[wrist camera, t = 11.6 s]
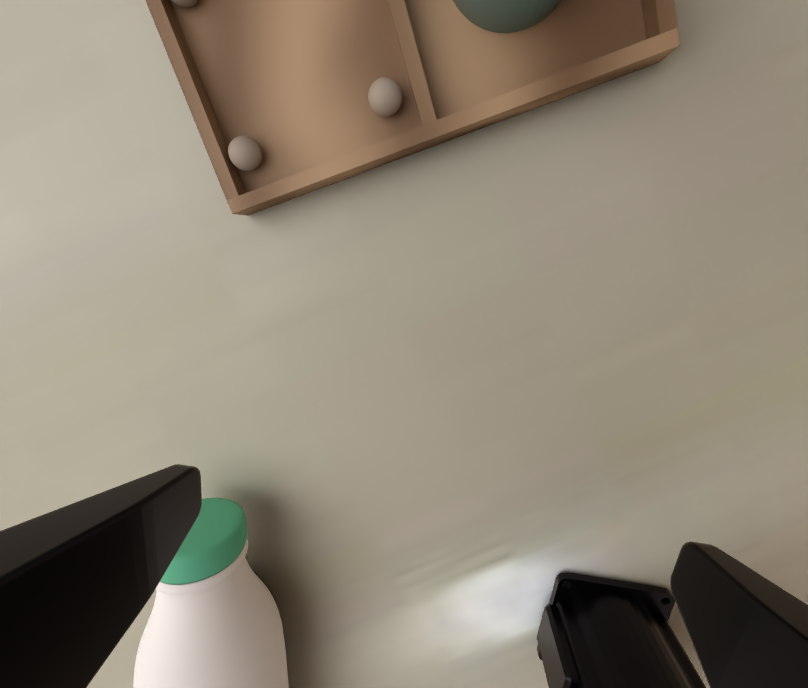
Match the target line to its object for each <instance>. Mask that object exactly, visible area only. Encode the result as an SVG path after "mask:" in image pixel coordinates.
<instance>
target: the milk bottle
mask: <svg viewBox="0 0 808 688" xmlns="http://www.w3.org/2000/svg"><path fill="white" fill-rule="evenodd" d="M247 551H248V539H247V524H246V517H245V514H244V511H243V509H242V508H241V506H240V505H239V504H237V503H236V502H234V501H232V500H229V499H224V498H206V499H202V505H201V510H200V513H199V516H198V518H197V519H196V521H195V523H194V524H193V526H192V528H191V530H190V531H189V533H188V535H187V536H186V538H185V540H184V541H183V543H182V545H181V547H180V548H179V550H178V552H177V553H176V555H175V557H174V558H173V560H172V562H171V564H170V565H169V567H168V569H167V570H166V572H165V574H164V575H163V577H162V579H161V581H160V582H159V584H158V585H157V587H156V590H157V593H156V599H155V603H154V607H153V610H152V613H151V616H150V618H149V621H148V623H147V625H146V628H145V630H144V633H143V636H142V638H141V642H140V645H139V648H138V653H137V657H136V662H135V670H134V688H289V684H288V672H287V660H286V649H285V641H284V634H283V626H282V622H281V618H280V614H279V610H278V608H277V605H276V603H275V600H274V598H273V596H272V595H271V593H270V591H269V590H268V588H267V587H266V586H265V585H264V583H263V582H262V581H261V580H260V579H259V578H258V577H257V575H256V574H255V573H254V572H253V571H252V569H251V568H250V566H249V564H248V562H247V560H246V558H245V556H246V554H247Z"/></svg>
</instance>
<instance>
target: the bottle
mask: <svg viewBox="0 0 808 688" xmlns="http://www.w3.org/2000/svg"><path fill="white" fill-rule="evenodd" d="M453 1H454V3H455V5H456V6H457V8H458V9H459V10H460V12H461V13H462V14H463V15H464V16H465V17H466V18H467V19H468V20H469V21H470V22H472V23H473V24H475V25H476V26H478V27H480V28H482V29H484V30H487V31H491V32H496V33H513V32H518V31H522V30H525V29H528V28H530V27H532V26H534V25H536V24H537V23H539V22H541V21H542V20H543V19H545V18H546V17H547V16H548V15H550V14H551V13H552V12H553V11H554V10H555V9H556V8H557V7H558V5H559V4H560V3H561V1H562V0H453Z"/></svg>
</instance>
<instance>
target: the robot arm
mask: <svg viewBox="0 0 808 688" xmlns="http://www.w3.org/2000/svg"><path fill="white" fill-rule="evenodd" d="M201 505H202V496H201V475H200V471H199V469H198V468H196V467H193V466H187V465H179V464H177V465H173V466H170V467H168V468H165V469H162V470H160V471H157V472H154V473H152V474H149V475H147V476H144V477H141V478H139V479H136V480H133V481H131V482H128V483H126V484H123V485H120V486H118V487H115V488H112V489H110V490H107V491H105V492H102V493H99V494H97V495H94V496H91V497H89V498H86V499H84V500H81V501H78V502H76V503H73V504H70V505H68V506H65V507H63V508H60V509H57V510H55V511H52V512H49V513H47V514H44V515H42V516H39V517H36V518H34V519H31V520H28V521H26V522H23V523H21V524H18V525H15V526H13V527H10V528H7V529H5V530H2V531H0V688H86V687H87V686H88V684H89V683H90V682H91V680H92V679H93V677H94V676H95V675H96V673H97V672H98V670H99V669H100V667H101V666H102V665H103V663H104V662H105V660H106V659H107V658H108V656H109V655H110V653H111V652H112V651H113V649H114V648H115V646H116V645H117V644H118V642H119V641H120V639H121V638H122V637H123V635H124V634H125V632H126V631H127V630H128V628H129V627H130V625H131V624H132V623H133V621H134V620H135V618H136V617H137V616H138V614H139V613H140V611H141V610H142V608H143V607H144V605H145V604H146V603H147V601H148V600H149V598H150V597H151V595H152V594H153V592H154V590H155V589H156V587H157V585H158V584H159V582H160V581H161V579H162V577H163V575H164V574H165V572H166V570H167V569H168V567H169V565H170V564H171V562H172V560H173V558H174V557H175V555H176V553H177V552H178V550H179V548H180V547H181V545H182V543H183V541H184V540H185V538H186V536H187V535H188V533H189V531H190V530H191V528H192V526H193V524H194V523H195V521H196V519H197V518H198V516H199V513H200V510H201ZM564 582H567V583H564ZM671 590H672V593H673V595H672V594H671V592H670V591H669V590H668V589H665V588H660V587H654V586H647V585H641V584H635V583H629V582H622V581H616V580H610V579H603V578H597V577H591V576H585V575H578V574H572V573H560V574H559V575H558V576H557V577H556V580H555V584H554V588H553V591H552V595H551V599H550V602H549V604H548V605H547V606H546V607H545V609H544V613H543V616H542V620H541V624H540V627H539V631H538V635H537V640H538V646H537V651H538V655H539V658H540V659H541V660H542V661H543V665H544V669H545V673H546V677H547V681H548V686H549V688H706V686H705V685H704V683H703V681H702V680H701V678H700V676H699V675H698V673H697V671H696V669H695V668H694V666H693V664H692V663H691V661H690V659H689V658H688V656H687V654H686V652H685V651H684V649H683V647H682V646H681V644H680V642H679V641H678V639H677V637H676V636H675V634H674V632H673V630H672V629H671V627H670V625H669V624H668V622H667V621H668V619H669V616H670V613H671V611H672V608H673V606H674V603H675V601H676V603H677V606H678V608H679V611H680V613H681V616H682V618H683V621H684V623H685V626H686V628H687V631H688V633H689V636H690V638H691V641H692V643H693V646H694V648H695V651H696V653H697V656H698V658H699V661H700V663H701V666H702V668H703V671H704V673H705V676H706V678H707V681H708V683H709V685H710V688H808V605H807V604H805V603H804V602H802V601H800V600H799V599H797V598H796V597H794V596H793V595H791V594H789V593H788V592H786V591H785V590H783V589H782V588H780V587H778V586H777V585H775V584H774V583H772V582H771V581H769V580H767V579H766V578H764V577H763V576H761V575H760V574H758V573H756V572H755V571H753V570H752V569H750V568H748V567H747V566H745V565H744V564H742V563H741V562H739V561H737V560H736V559H734V558H733V557H731V556H730V555H728V554H726V553H725V552H723V551H722V550H720V549H719V548H717V547H715V546H713V545H709V544H703V543H696V542H687V543H685V544H684V545H683V546H682V548H681V551H680V554H679V556H678V559H677V562H676V564H675V567H674V570H673V572H672V575H671ZM673 596H674V597H673ZM674 598H675V599H674Z"/></svg>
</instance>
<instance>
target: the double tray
mask: <svg viewBox="0 0 808 688" xmlns="http://www.w3.org/2000/svg"><path fill="white" fill-rule="evenodd" d="M146 2H147V5H148V7H149V10H150V12H151V15H152V17H153V20H154V22H155V25H156V27H157V30H158V32H159V34H160V37H161V39H162V42H163V44H164V47H165V49H166V52H167V54H168V57H169V59H170V62H171V64H172V66H173V69H174V71H175V74H176V76H177V79H178V81H179V84H180V86H181V89H182V91H183V93H184V96H185V98H186V101H187V103H188V106H189V108H190V111H191V113H192V116H193V118H194V121H195V123H196V125H197V128H198V130H199V133H200V135H201V138H202V140H203V143H204V145H205V148H206V150H207V153H208V155H209V157H210V160H211V162H212V165H213V167H214V170H215V172H216V175H217V177H218V180H219V182H220V184H221V187H222V189H223V192H224V194H225V197H226V199H227V202H228V204H229V207H230V209H231V212H232V214H239V215H250V214H252V213H255V212H258V211H260V210H263V209H266V208H268V207H271V206H274V205H276V204H279V203H282V202H284V201H287V200H290V199H293V198H295V197H298V196H301V195H303V194H306V193H309V192H311V191H314V190H317V189H319V188H322V187H325V186H327V185H330V184H333V183H335V182H338V181H341V180H344V179H346V178H349V177H352V176H354V175H357V174H360V173H362V172H365V171H368V170H370V169H373V168H376V167H378V166H381V165H384V164H386V163H389V162H392V161H395V160H397V159H400V158H403V157H405V156H408V155H411V154H413V153H416V152H419V151H421V150H424V149H427V148H429V147H432V146H435V145H437V144H440V143H443V142H446V141H448V140H451V139H454V138H456V137H459V136H462V135H464V134H467V133H470V132H472V131H475V130H478V129H480V128H483V127H486V126H488V125H491V124H494V123H497V122H499V121H502V120H505V119H507V118H510V117H513V116H515V115H518V114H521V113H523V112H526V111H529V110H531V109H534V108H537V107H540V106H542V105H545V104H548V103H550V102H553V101H556V100H558V99H561V98H564V97H566V96H569V95H572V94H574V93H577V92H580V91H582V90H585V89H588V88H591V87H593V86H596V85H599V84H601V83H604V82H607V81H609V80H612V79H615V78H617V77H620V76H623V75H625V74H628V73H631V72H633V71H636V70H639V69H642V68H644V67H647V66H650V65H652V64H655V63H658V62H660V61H661V60H662V59H663V58H665V57H666V56H667V55H668V54H670V53H671V52H672V51H673V50H675V49H676V48H677V47H678V46H680V45H679V37H678V29H677V22H676V14H675V6H674V0H562V1H561V3H560V4H559V5H558V7H557V8H556V9H555V10H554V11H553V12H552V13H551V14H550V15H548V16H547V17H546V18H545V19H543V20H542V21H541V22H539V23H537V24H536V25H534V26H532V27H530V28H528V29H525V30H522V31H518V32H513V33H496V32H491V31H487V30H484V29H482V28H480V27H478V26H476V25H475V24H473V23H472V22H470V21H469V20H468V19H467V18H466V17H465V16H464V15H463V14H462V13H461V12H460V10H459V9H458V8H457V6H456V5H455V3H454V1H453V0H146Z"/></svg>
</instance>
